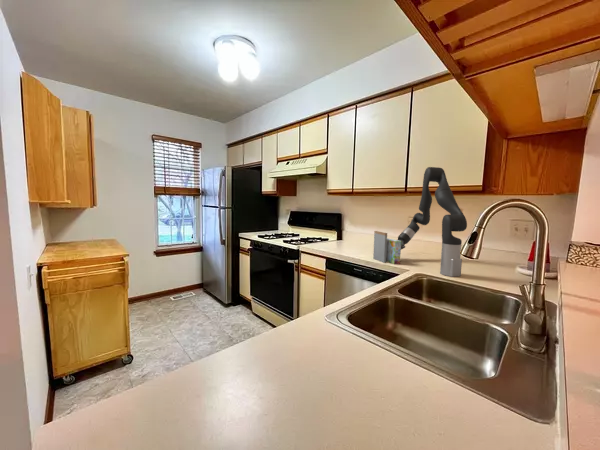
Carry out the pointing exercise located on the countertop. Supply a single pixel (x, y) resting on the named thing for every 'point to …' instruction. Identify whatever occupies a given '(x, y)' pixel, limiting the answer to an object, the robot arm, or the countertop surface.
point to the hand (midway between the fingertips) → (390, 253)
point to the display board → (380, 246)
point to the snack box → (393, 251)
